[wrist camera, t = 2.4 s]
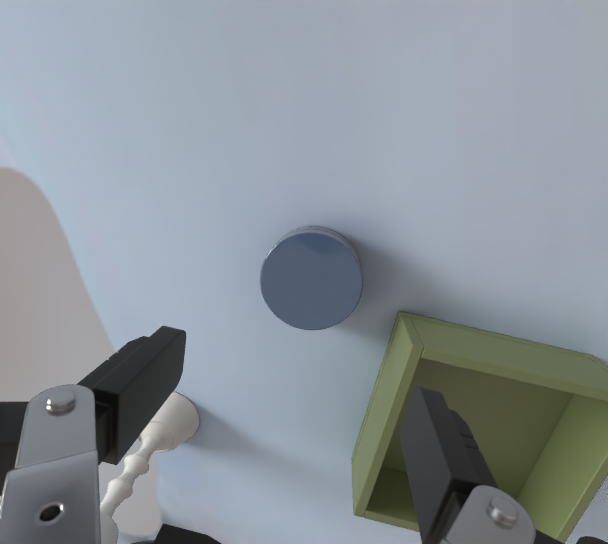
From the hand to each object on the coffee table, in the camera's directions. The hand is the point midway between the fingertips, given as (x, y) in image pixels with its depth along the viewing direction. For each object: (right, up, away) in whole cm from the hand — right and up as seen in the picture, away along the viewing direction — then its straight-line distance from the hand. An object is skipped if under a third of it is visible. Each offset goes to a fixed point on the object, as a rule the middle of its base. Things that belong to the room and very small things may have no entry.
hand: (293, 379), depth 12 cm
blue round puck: (+1, +4, +12) cm, 12 cm away
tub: (+12, -7, +14) cm, 20 cm away
